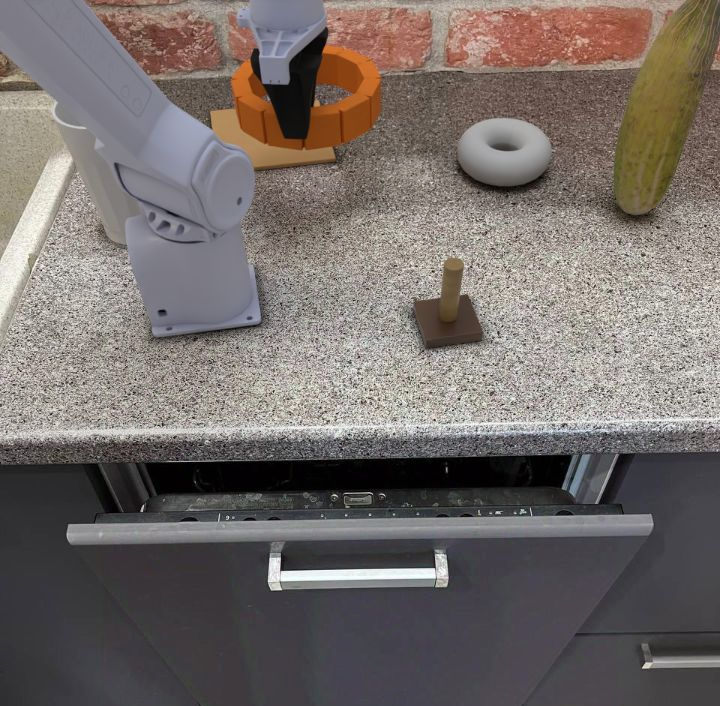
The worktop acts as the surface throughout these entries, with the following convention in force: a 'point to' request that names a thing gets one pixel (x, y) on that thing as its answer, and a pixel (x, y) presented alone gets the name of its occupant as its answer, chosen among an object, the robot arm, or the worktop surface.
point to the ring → (326, 120)
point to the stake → (448, 312)
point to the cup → (96, 176)
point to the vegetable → (664, 105)
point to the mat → (265, 145)
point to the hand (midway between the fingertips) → (297, 129)
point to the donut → (504, 152)
